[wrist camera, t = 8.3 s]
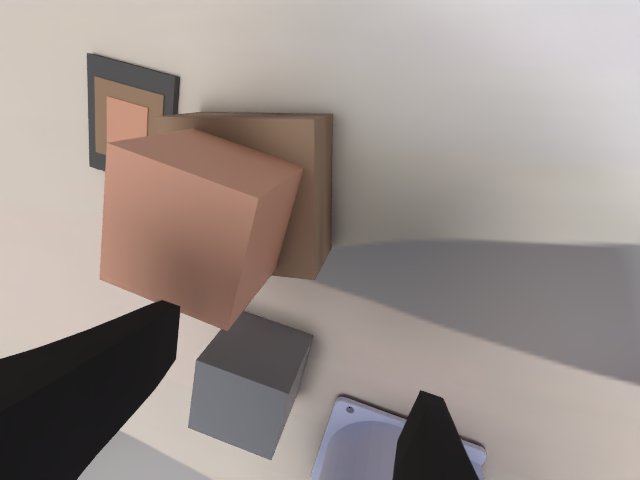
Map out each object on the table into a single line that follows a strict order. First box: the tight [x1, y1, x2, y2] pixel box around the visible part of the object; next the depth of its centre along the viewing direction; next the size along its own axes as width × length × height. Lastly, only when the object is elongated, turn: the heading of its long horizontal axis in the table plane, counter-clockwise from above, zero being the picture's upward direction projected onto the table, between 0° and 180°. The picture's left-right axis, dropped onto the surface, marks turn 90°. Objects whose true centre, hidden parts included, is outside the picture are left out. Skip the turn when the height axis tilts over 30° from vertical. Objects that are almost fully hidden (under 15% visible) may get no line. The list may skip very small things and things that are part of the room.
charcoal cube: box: [188, 311, 313, 460], centre depth 22 cm, size 5×5×5 cm
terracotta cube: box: [100, 128, 304, 331], centre depth 15 cm, size 5×5×5 cm
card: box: [87, 53, 180, 171], centre depth 20 cm, size 5×6×1 cm
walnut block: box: [155, 112, 333, 280], centre depth 19 cm, size 7×7×4 cm
